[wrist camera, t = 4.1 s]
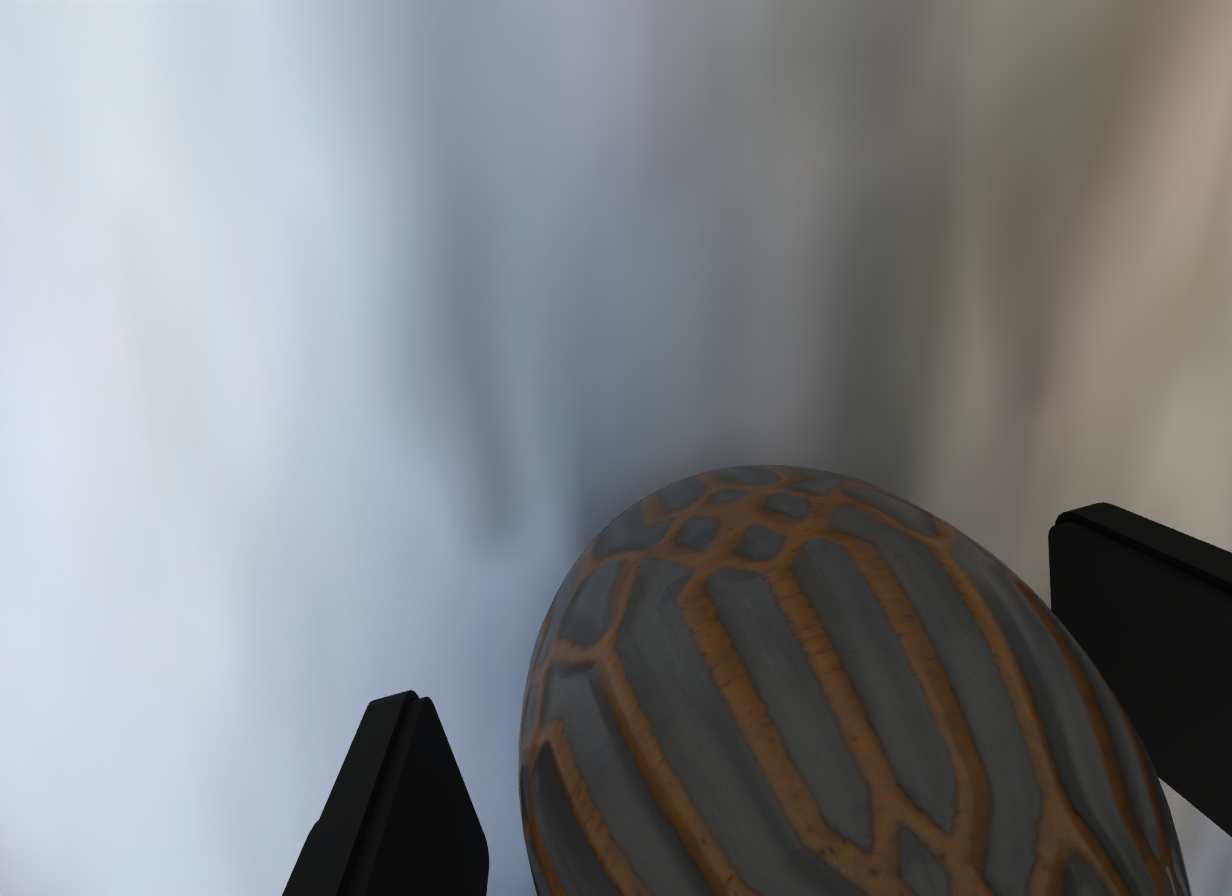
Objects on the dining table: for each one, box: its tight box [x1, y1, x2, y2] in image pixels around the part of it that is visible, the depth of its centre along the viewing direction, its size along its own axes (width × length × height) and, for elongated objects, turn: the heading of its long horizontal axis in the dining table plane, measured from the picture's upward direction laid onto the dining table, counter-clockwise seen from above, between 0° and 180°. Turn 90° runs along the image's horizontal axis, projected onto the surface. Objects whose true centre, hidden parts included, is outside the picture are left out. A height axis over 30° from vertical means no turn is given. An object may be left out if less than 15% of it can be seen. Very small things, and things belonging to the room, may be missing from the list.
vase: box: [519, 465, 1192, 896], centre depth 7 cm, size 7×7×9 cm
